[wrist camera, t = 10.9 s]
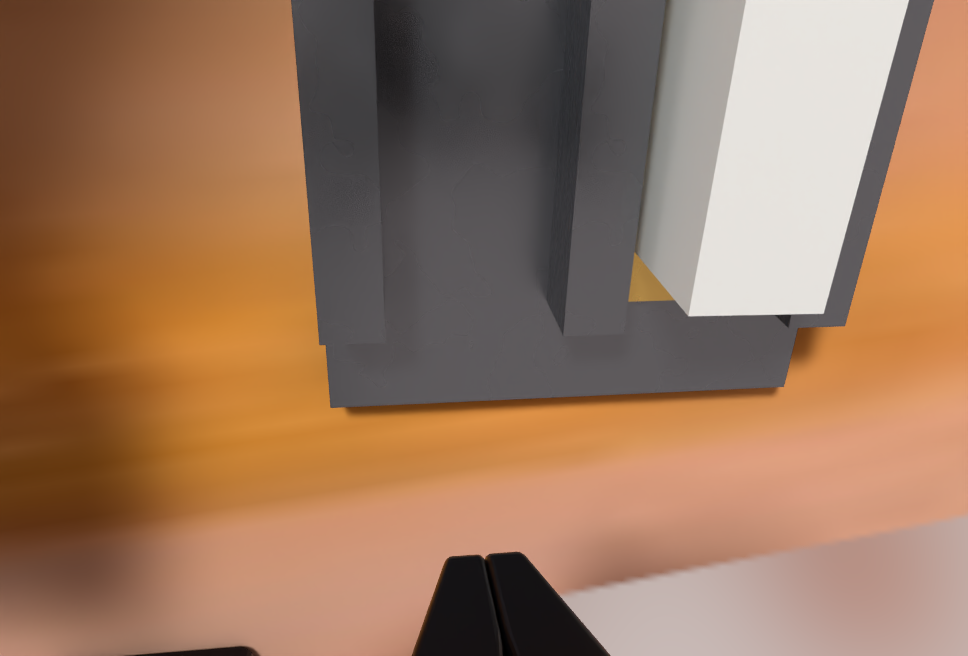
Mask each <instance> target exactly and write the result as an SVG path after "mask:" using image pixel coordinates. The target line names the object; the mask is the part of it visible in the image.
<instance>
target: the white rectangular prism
mask: <svg viewBox="0 0 968 656" xmlns="http://www.w3.org/2000/svg"><path fill="white" fill-rule="evenodd" d="M908 2H909V0H666V4H665V12H664V20H663V28H662V36H661V44H660V52H659V60H658V68H657V76H656V84H655V92H654V100H653V108H652V116H651V124H650V132H649V140H648V148H647V156H646V164H645V172H644V180H643V188H642V196H641V204H640V212H639V220H638V228H637V236H636V244H635V253H636V254H637V255H638V256H639V258H640V259H641V260H642V261H643V262H644V264H645V265H646V266H647V267H648V268H649V270H650V271H651V272H652V273H653V274H654V276H655V277H656V278H657V279H658V280H659V282H660V283H661V284H662V285H663V286H664V288H665V289H666V290H667V291H668V292H669V294H670V295H671V296H672V297H673V298H674V300H675V301H676V302H677V303H678V305H679V306H680V307H681V308H682V309H683V311H684V312H685V313H686V314H687V315H688V316H732V315H783V314H824V310H825V307H826V303H827V299H828V296H829V292H830V288H831V285H832V281H833V277H834V274H835V270H836V266H837V263H838V259H839V255H840V252H841V248H842V244H843V241H844V237H845V233H846V230H847V226H848V222H849V219H850V215H851V211H852V208H853V204H854V200H855V197H856V193H857V189H858V186H859V182H860V178H861V175H862V171H863V167H864V164H865V160H866V156H867V153H868V149H869V145H870V142H871V138H872V134H873V131H874V127H875V123H876V120H877V116H878V112H879V109H880V105H881V101H882V98H883V94H884V90H885V87H886V83H887V79H888V75H889V72H890V68H891V64H892V61H893V57H894V53H895V50H896V46H897V42H898V39H899V35H900V31H901V28H902V24H903V20H904V17H905V13H906V9H907V6H908Z"/></svg>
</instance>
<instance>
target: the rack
mask: <svg viewBox="0 0 968 656" xmlns="http://www.w3.org/2000/svg"><path fill="white" fill-rule="evenodd" d="M933 2H934V0H909V2H908V6H907V9H906V13H905V17H904V20H903V24H902V28H901V31H900V35H899V39H898V42H897V46H896V50H895V53H894V57H893V61H892V64H891V68H890V72H889V75H888V79H887V83H886V87H885V90H884V94H883V98H882V101H881V105H880V109H879V112H878V116H877V120H876V123H875V127H874V131H873V134H872V138H871V142H870V145H869V149H868V153H867V156H866V160H865V164H864V167H863V171H862V175H861V178H860V182H859V186H858V189H857V193H856V197H855V200H854V204H853V208H852V211H851V215H850V219H849V222H848V226H847V230H846V233H845V237H844V241H843V244H842V248H841V252H840V255H839V259H838V263H837V266H836V270H835V274H834V277H833V281H832V285H831V288H830V292H829V296H828V299H827V303H826V307H825V310H824V314H783V315H732V316H688V315H687V314H686V313H685V312H684V311H683V309H682V308H681V307H680V306H679V305H678V303H677V302H676V301H675V300H674V298H673V297H672V296H671V295H670V294H669V292H668V291H667V290H666V289H665V288H664V286H663V285H662V284H661V283H660V282H659V280H658V279H657V278H656V277H655V276H654V274H653V273H652V272H651V271H650V270H649V268H648V267H647V266H646V265H645V264H644V262H643V261H642V260H641V259H640V258H639V256H638V255H637V254H636V253H635V244H636V236H637V228H638V220H639V212H640V204H641V196H642V188H643V180H644V172H645V164H646V156H647V148H648V140H649V132H650V124H651V116H652V108H653V100H654V92H655V84H656V76H657V68H658V60H659V52H660V44H661V36H662V28H663V20H664V12H665V4H666V0H291V4H292V16H293V28H294V40H295V52H296V65H297V77H298V89H299V101H300V113H301V125H302V137H303V150H304V162H305V174H306V186H307V198H308V210H309V223H310V235H311V247H312V259H313V271H314V283H315V296H316V308H317V320H318V332H319V344H320V345H326V355H327V368H328V381H329V394H330V407H331V408H338V407H359V406H381V405H402V404H424V403H446V402H467V401H489V400H510V399H532V398H553V397H575V396H597V395H618V394H640V393H661V392H683V391H704V390H726V389H748V388H769V387H784V384H785V380H786V376H787V371H788V367H789V363H790V359H791V355H792V351H793V347H794V343H795V338H796V334H797V330H798V328H806V327H834V326H845V324H846V320H847V316H848V313H849V309H850V306H851V302H852V298H853V295H854V291H855V287H856V284H857V280H858V276H859V273H860V269H861V265H862V262H863V258H864V254H865V251H866V247H867V243H868V240H869V236H870V232H871V229H872V225H873V221H874V218H875V214H876V210H877V207H878V203H879V199H880V196H881V192H882V188H883V185H884V181H885V177H886V174H887V170H888V166H889V163H890V159H891V156H892V152H893V148H894V145H895V141H896V137H897V134H898V130H899V126H900V123H901V119H902V115H903V112H904V108H905V104H906V101H907V97H908V93H909V90H910V86H911V82H912V79H913V75H914V71H915V68H916V64H917V60H918V57H919V53H920V49H921V46H922V42H923V38H924V35H925V31H926V27H927V24H928V20H929V16H930V13H931V9H932V6H933Z"/></svg>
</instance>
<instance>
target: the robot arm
mask: <svg viewBox="0 0 968 656" xmlns="http://www.w3.org/2000/svg"><path fill="white" fill-rule="evenodd" d="M140 656H253V654H252V652H250V651H249V650H248V649H245V648H239V647H235V648H223V649H211V650H199V651H187V652H176V653H164V654H152V655H140ZM412 656H610V654H609V653H608V652H607V651H606V650H605V649H604V647H603V646H602V645H601V644H600V643H599V642H598V640H597V639H596V638H595V637H594V636H593V635H592V633H591V632H590V631H589V630H588V629H587V628H586V626H585V625H584V624H583V623H582V622H581V621H580V619H579V618H578V617H577V616H576V615H575V614H574V612H573V611H572V610H571V609H570V608H569V607H568V606H567V604H566V603H565V602H564V601H563V599H562V598H561V597H560V596H559V595H558V594H557V592H556V591H555V590H554V589H553V588H552V587H551V585H550V584H549V583H548V582H547V581H546V580H545V578H544V577H543V576H542V575H541V574H540V573H539V571H538V570H537V569H536V568H535V567H534V566H533V564H532V563H531V562H530V561H529V560H528V558H527V557H526V556H525V555H524V554H522V553H520V552H507V553H493V554H489V555H488V556H486V558H485V560H484V558H483V557H482V556H480V555H465V556H452V557H449V558H447V560H446V561H445V563H444V565H443V568H442V571H441V574H440V577H439V580H438V582H437V585H436V588H435V591H434V594H433V597H432V600H431V602H430V605H429V608H428V611H427V614H426V617H425V619H424V622H423V625H422V628H421V631H420V634H419V637H418V639H417V642H416V645H415V648H414V651H413V654H412Z"/></svg>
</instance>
